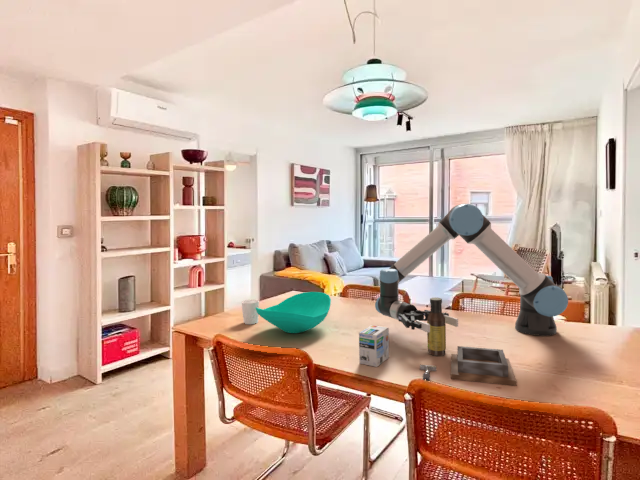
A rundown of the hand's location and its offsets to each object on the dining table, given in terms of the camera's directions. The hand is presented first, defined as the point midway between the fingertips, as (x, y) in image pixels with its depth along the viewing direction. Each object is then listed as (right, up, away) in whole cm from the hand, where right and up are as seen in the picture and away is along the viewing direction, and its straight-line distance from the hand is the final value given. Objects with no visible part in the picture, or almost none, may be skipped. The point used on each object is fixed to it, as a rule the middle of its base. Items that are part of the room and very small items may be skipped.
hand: (443, 325), depth 140 cm
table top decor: (-53, -10, +35) cm, 64 cm away
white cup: (-75, -9, +49) cm, 90 cm away
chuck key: (-9, -12, -13) cm, 20 cm away
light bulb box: (-24, -12, -1) cm, 27 cm away
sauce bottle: (-1, -11, +4) cm, 12 cm away
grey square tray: (+8, -12, -12) cm, 19 cm away
